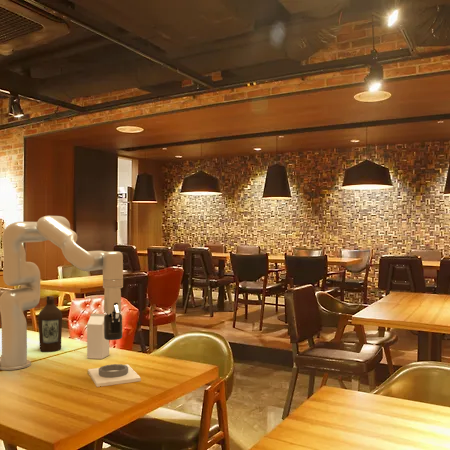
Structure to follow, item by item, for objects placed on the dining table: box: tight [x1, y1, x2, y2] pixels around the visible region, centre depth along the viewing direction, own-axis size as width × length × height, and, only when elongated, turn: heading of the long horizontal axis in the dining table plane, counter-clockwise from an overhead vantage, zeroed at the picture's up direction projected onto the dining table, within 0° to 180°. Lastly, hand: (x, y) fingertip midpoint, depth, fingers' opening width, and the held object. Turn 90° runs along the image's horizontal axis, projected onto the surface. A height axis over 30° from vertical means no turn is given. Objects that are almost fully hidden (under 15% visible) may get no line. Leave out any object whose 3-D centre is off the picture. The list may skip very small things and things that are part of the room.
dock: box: [87, 363, 142, 388], centre depth 188 cm, size 16×20×3 cm
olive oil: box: [37, 295, 63, 353], centre depth 231 cm, size 11×11×25 cm
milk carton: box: [86, 313, 110, 360], centre depth 217 cm, size 7×7×19 cm
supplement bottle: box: [104, 312, 123, 341], centre depth 188 cm, size 7×7×12 cm
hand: (113, 330), depth 188 cm, fingers closed on supplement bottle, 6 cm apart
